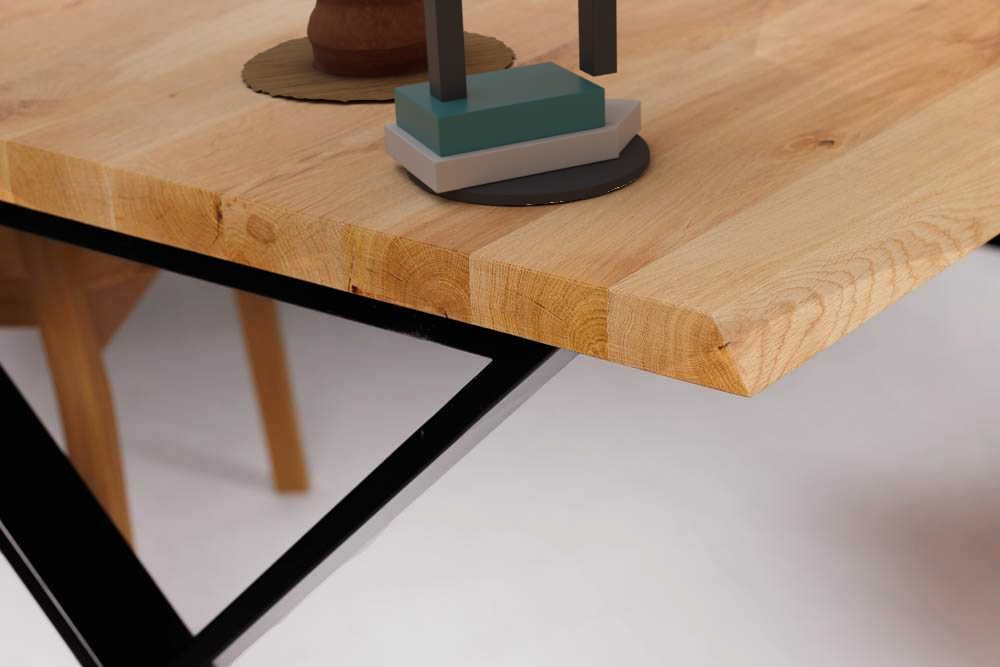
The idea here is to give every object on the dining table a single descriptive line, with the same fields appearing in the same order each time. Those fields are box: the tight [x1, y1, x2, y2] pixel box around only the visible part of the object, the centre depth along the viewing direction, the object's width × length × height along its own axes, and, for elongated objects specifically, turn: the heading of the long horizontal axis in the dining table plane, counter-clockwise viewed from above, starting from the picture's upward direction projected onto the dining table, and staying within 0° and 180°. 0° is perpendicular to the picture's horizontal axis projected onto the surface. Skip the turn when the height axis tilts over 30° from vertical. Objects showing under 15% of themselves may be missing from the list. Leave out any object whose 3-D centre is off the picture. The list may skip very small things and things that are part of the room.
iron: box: [383, 0, 642, 193], centre depth 72 cm, size 13×7×12 cm, turn 115°
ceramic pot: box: [240, 0, 516, 103], centre depth 92 cm, size 18×18×7 cm
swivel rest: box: [406, 133, 651, 206], centre depth 75 cm, size 13×13×1 cm
